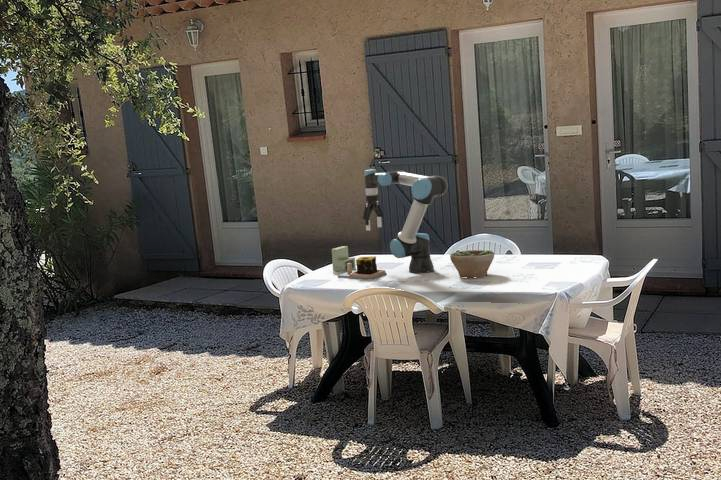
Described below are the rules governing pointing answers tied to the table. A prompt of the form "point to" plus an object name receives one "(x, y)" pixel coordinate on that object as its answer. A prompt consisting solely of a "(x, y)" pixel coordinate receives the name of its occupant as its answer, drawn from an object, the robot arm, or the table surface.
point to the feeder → (341, 259)
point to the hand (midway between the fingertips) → (374, 228)
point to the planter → (472, 262)
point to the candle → (366, 265)
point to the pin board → (361, 276)
